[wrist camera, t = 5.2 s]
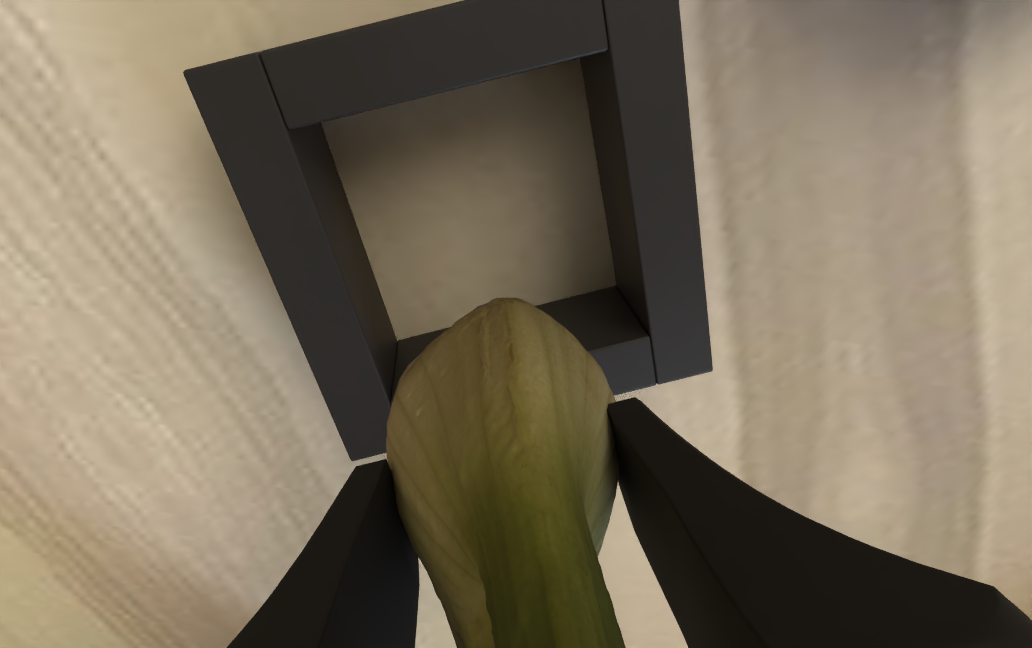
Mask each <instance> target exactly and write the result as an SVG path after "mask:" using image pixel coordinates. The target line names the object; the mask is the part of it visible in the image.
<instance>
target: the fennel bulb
mask: <svg viewBox="0 0 1032 648" xmlns="http://www.w3.org/2000/svg"><path fill="white" fill-rule="evenodd" d="M614 402H616V400H615V398H614V395H613V393H612V391H611V389H610V387H609V385H608V382H607V379H606V377H605V375H604V373H603V370H602V368H601V367H600V365H598V363H597V362H596V360H595V359H594V358H593V357H592V355H591V354H590V353H589V352H588V351H587V350H586V349H585V348H584V347H583V346H582V345H581V344H580V342H579V341H578V340H577V339H576V338H575V336H574V335H573V334H572V333H571V332H569V331H568V330H567V329H566V328H565V327H564V326H562V325H561V324H560V323H558V322H557V321H556V320H554V319H553V318H552V317H551V316H549V315H548V314H546V313H545V312H543V311H541V310H540V309H538V308H536V307H534V306H533V305H531V304H529V303H527V302H525V301H523V300H521V299H518V298H496V299H493V300H491V301H490V302H489V303H487V304H484V305H481V306H478V307H477V308H475V309H474V310H473V311H472V312H470V313H468V314H467V315H465V316H464V317H462V318H461V319H459V320H458V321H457V322H456V323H455V324H454V325H453V326H452V327H451V328H449V329H448V330H446V331H445V332H444V333H442V334H441V335H440V336H438V337H437V338H436V339H435V340H433V341H432V342H431V343H430V344H429V345H427V346H426V347H425V349H424V351H423V352H422V353H421V354H420V355H419V356H417V357H416V358H415V359H414V360H413V361H412V362H411V363H410V364H409V365H408V366H407V368H406V369H405V371H404V372H403V374H402V376H401V377H400V379H399V381H398V384H397V388H396V391H395V394H394V398H393V402H392V405H391V410H390V414H389V417H388V421H387V438H386V450H387V459H388V464H389V467H390V469H391V473H392V478H393V483H394V491H395V498H396V505H397V509H398V513H399V515H400V518H401V520H402V522H403V525H404V528H405V530H406V532H407V535H408V537H409V539H410V542H411V544H412V546H413V548H414V550H415V552H416V553H417V555H418V557H419V558H420V560H421V562H422V564H423V565H424V567H425V569H426V571H427V572H428V575H429V577H430V579H431V581H432V584H433V587H434V589H435V592H436V594H437V596H438V598H439V599H440V601H441V603H442V606H443V608H444V610H445V613H446V617H447V620H448V622H449V625H450V628H451V631H452V634H453V637H454V640H455V643H456V646H457V648H625V644H624V641H623V638H622V634H621V631H620V628H619V625H618V623H617V619H616V616H615V612H614V608H613V604H612V601H611V598H610V594H609V592H608V590H607V588H606V585H605V582H604V578H603V574H602V570H601V566H600V564H599V561H598V555H599V552H600V549H601V546H602V543H603V539H604V536H605V533H606V530H607V527H608V523H609V520H610V516H611V512H612V507H613V503H614V499H615V496H616V489H617V483H618V478H619V460H618V455H617V451H616V446H615V439H614V434H613V429H612V425H611V422H610V418H609V415H608V411H607V407H608V404H610V403H614Z"/></svg>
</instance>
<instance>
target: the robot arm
mask: <svg viewBox="0 0 1032 648" xmlns="http://www.w3.org/2000/svg"><path fill="white" fill-rule="evenodd" d="M607 411H608V415H609V418H610V422H611V425H612V429H613V434H614V439H615V446H616V451H617V455H618V460H619V478H618V482H619V486H620V489H621V492H622V495H623V498H624V501H625V504H626V507H627V510H628V513H629V516H630V519H631V522H632V525H633V528H634V531H635V533H636V535H637V537H638V539H639V542H640V544H641V546H642V548H643V550H644V552H645V554H646V557H647V559H648V561H649V563H650V565H651V567H652V569H653V572H654V574H655V576H656V578H657V580H658V582H659V584H660V586H661V589H662V591H663V593H664V595H665V597H666V599H667V601H668V603H669V606H670V608H671V610H672V612H673V614H674V616H675V618H676V620H677V623H678V625H679V627H680V629H681V631H682V633H683V636H684V638H685V640H686V643H687V645H688V648H1032V620H1031V619H1030V618H1029V617H1028V616H1027V615H1026V614H1025V613H1023V612H1022V611H1021V610H1020V609H1019V608H1018V607H1016V606H1015V605H1014V604H1013V603H1012V602H1011V601H1009V600H1008V599H1007V598H1006V597H1005V596H1004V595H1003V594H1002V593H1000V592H999V591H998V590H997V589H996V588H995V587H994V586H990V585H987V584H984V583H981V582H977V581H974V580H971V579H968V578H964V577H961V576H958V575H955V574H951V573H948V572H945V571H942V570H938V569H935V568H932V567H929V566H925V565H922V564H919V563H916V562H913V561H910V560H908V559H905V558H902V557H899V556H897V555H894V554H891V553H889V552H886V551H883V550H881V549H878V548H875V547H873V546H870V545H868V544H865V543H863V542H860V541H858V540H855V539H853V538H851V537H848V536H846V535H844V534H842V533H839V532H837V531H835V530H833V529H831V528H828V527H826V526H824V525H822V524H820V523H817V522H815V521H813V520H811V519H809V518H806V517H804V516H802V515H800V514H799V513H797V512H795V511H793V510H791V509H789V508H787V507H785V506H783V505H782V504H780V503H778V502H776V501H775V500H773V499H771V498H769V497H767V496H766V495H764V494H762V493H761V492H759V491H757V490H756V489H754V488H752V487H751V486H749V485H748V484H746V483H745V482H743V481H741V480H740V479H738V478H737V477H735V476H734V475H732V474H731V473H729V472H728V471H726V470H725V469H723V468H722V467H721V466H719V465H718V464H716V463H715V462H714V461H712V460H711V459H709V458H708V457H707V456H705V455H704V454H703V453H702V452H700V451H699V450H698V449H696V448H695V447H694V446H692V445H691V444H690V443H688V442H687V441H686V440H685V439H683V438H682V437H681V436H680V435H678V434H677V433H676V432H675V431H674V430H672V429H671V428H670V427H669V426H668V425H667V424H665V423H664V422H663V421H662V420H661V419H660V418H659V417H657V416H656V415H655V414H654V413H653V412H652V411H651V410H650V409H649V408H648V407H647V406H646V405H645V404H644V403H643V402H642V401H640V400H638V399H637V398H635V397H634V398H630V399H626V400H622V401H618V402H614V403H610V404H608V407H607ZM418 598H419V563H418V555H417V553H416V552H415V550H414V548H413V546H412V544H411V542H410V539H409V537H408V535H407V532H406V530H405V528H404V525H403V522H402V520H401V518H400V515H399V513H398V509H397V505H396V498H395V491H394V483H393V478H392V473H391V469H390V467H389V464H388V462H387V459H384V460H380V461H376V462H372V463H368V464H364V465H360V466H356V467H355V469H354V470H353V472H352V473H351V475H350V477H349V478H348V480H347V481H346V483H345V484H344V486H343V488H342V489H341V491H340V492H339V494H338V496H337V497H336V499H335V501H334V502H333V504H332V505H331V507H330V509H329V510H328V512H327V513H326V515H325V517H324V518H323V520H322V521H321V523H320V525H319V526H318V528H317V529H316V531H315V532H314V534H313V535H312V537H311V538H310V540H309V541H308V543H307V545H306V546H305V548H304V549H303V551H302V552H301V554H300V555H299V556H298V558H297V559H296V561H295V562H294V563H293V565H292V566H291V568H290V569H289V570H288V572H287V573H286V575H285V576H284V577H283V579H282V580H281V582H280V583H279V584H278V586H277V587H276V588H275V590H274V591H273V593H272V594H271V595H270V596H269V598H268V599H267V600H266V602H265V603H264V604H263V605H262V607H261V608H260V609H259V610H258V612H257V613H256V614H255V615H254V616H253V618H252V619H251V620H250V621H249V622H248V624H247V625H246V626H245V627H244V628H243V629H242V631H241V632H240V633H239V634H238V635H237V636H236V638H235V639H234V640H233V641H232V642H231V643H230V644H229V646H228V647H227V648H415V638H416V625H417V612H418Z"/></svg>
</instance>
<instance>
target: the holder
mask: <svg viewBox="0 0 1032 648" xmlns="http://www.w3.org/2000/svg"><path fill="white" fill-rule="evenodd" d="M577 58H580V60H581V66H582V72H583V79H584V85H585V91H586V97H587V103H588V109H589V116H590V122H591V128H592V134H593V140H594V147H595V153H596V159H597V165H598V171H599V177H600V184H601V190H602V196H603V202H604V208H605V214H606V221H607V227H608V233H609V239H610V245H611V251H612V258H613V264H614V270H615V276H616V282H617V287H616V286H614V287H610V288H606V289H602V290H598V291H594V292H590V293H586V294H582V295H578V296H574V297H570V298H566V299H562V300H558V301H554V302H550V303H546V304H542V305H538V306H534V307H536V308H538V309H540V310H541V311H543V312H545V313H546V314H548V315H549V316H551V317H552V318H553V319H554V320H556V321H557V322H558V323H560V324H561V325H562V326H564V327H565V328H566V329H567V330H568V331H569V332H571V333H572V334H573V335H574V336H575V338H576V339H577V340H578V341H579V342H580V344H581V345H582V346H583V347H584V348H585V349H586V350H587V351H588V352H589V353H590V354H591V355H592V357H593V358H594V359H595V360H596V362H597V363H598V365H600V367H601V368H602V370H603V373H604V375H605V377H606V379H607V382H608V385H609V387H610V389H611V391H612V393H613V395H618V394H622V393H626V392H630V391H634V390H638V389H642V388H646V387H650V386H654V385H656V383H657V384H663V383H667V382H671V381H675V380H679V379H683V378H687V377H691V376H695V375H699V374H703V373H707V372H711V371H712V370H713V367H712V356H711V346H710V335H709V324H708V313H707V302H706V291H705V281H704V270H703V259H702V248H701V237H700V226H699V216H698V205H697V194H696V183H695V172H694V161H693V151H692V140H691V129H690V118H689V107H688V96H687V85H686V75H685V64H684V53H683V42H682V31H681V20H680V10H679V0H464V1H460V2H456V3H452V4H448V5H444V6H440V7H436V8H432V9H428V10H424V11H420V12H416V13H412V14H408V15H404V16H400V17H396V18H392V19H388V20H384V21H380V22H376V23H372V24H368V25H364V26H360V27H356V28H352V29H348V30H344V31H340V32H336V33H332V34H328V35H324V36H320V37H315V38H311V39H307V40H303V41H299V42H295V43H291V44H287V45H283V46H279V47H275V48H271V49H267V50H263V51H261V52H256V53H251V54H247V55H243V56H239V57H235V58H231V59H227V60H223V61H219V62H215V63H211V64H207V65H203V66H199V67H195V68H191V69H187V70H185V71H184V72H183V73H184V77H185V79H186V81H187V84H188V86H189V88H190V90H191V93H192V95H193V97H194V100H195V102H196V104H197V107H198V109H199V111H200V114H201V116H202V118H203V120H204V123H205V125H206V127H207V130H208V132H209V134H210V137H211V139H212V141H213V143H214V146H215V148H216V150H217V153H218V155H219V157H220V160H221V162H222V164H223V167H224V169H225V171H226V173H227V176H228V178H229V180H230V183H231V185H232V187H233V190H234V192H235V194H236V197H237V199H238V201H239V203H240V206H241V208H242V210H243V213H244V215H245V217H246V220H247V222H248V224H249V227H250V229H251V231H252V233H253V236H254V238H255V240H256V243H257V245H258V247H259V250H260V252H261V254H262V257H263V259H264V261H265V263H266V266H267V268H268V270H269V273H270V275H271V277H272V280H273V282H274V284H275V286H276V289H277V291H278V293H279V296H280V298H281V300H282V303H283V305H284V307H285V310H286V312H287V314H288V316H289V319H290V321H291V323H292V326H293V328H294V330H295V333H296V335H297V337H298V340H299V342H300V344H301V346H302V349H303V351H304V353H305V356H306V358H307V360H308V363H309V365H310V367H311V370H312V372H313V374H314V376H315V379H316V381H317V383H318V386H319V388H320V390H321V393H322V395H323V397H324V400H325V402H326V404H327V406H328V409H329V411H330V413H331V416H332V418H333V420H334V423H335V425H336V427H337V429H338V432H339V434H340V436H341V439H342V441H343V443H344V446H345V448H346V450H347V453H348V455H349V457H350V459H351V461H355V460H359V459H363V458H367V457H371V456H375V455H379V454H383V453H387V450H386V438H387V421H388V417H389V414H390V410H391V405H392V402H393V398H394V394H395V391H396V388H397V384H398V381H399V379H400V377H401V376H402V374H403V372H404V371H405V369H406V368H407V366H408V365H409V364H410V363H411V362H412V361H413V360H414V359H415V358H416V357H417V356H419V355H420V354H421V353H422V352H423V351H424V349H425V347H426V346H427V345H429V344H430V343H431V342H432V341H433V340H435V339H436V338H437V337H438V336H440V335H441V334H442V333H444V332H445V331H446V330H448V329H449V328H446V329H442V330H438V331H434V332H430V333H426V334H422V335H418V336H414V337H410V338H406V339H402V340H399V341H398V342H397V339H396V336H395V334H394V331H393V328H392V325H391V322H390V319H389V317H388V314H387V311H386V308H385V305H384V302H383V299H382V297H381V294H380V291H379V288H378V285H377V282H376V280H375V277H374V274H373V271H372V268H371V265H370V263H369V260H368V257H367V254H366V251H365V248H364V246H363V243H362V240H361V237H360V234H359V231H358V228H357V226H356V223H355V220H354V217H353V214H352V211H351V209H350V206H349V203H348V200H347V197H346V194H345V192H344V189H343V186H342V183H341V180H340V177H339V175H338V172H337V169H336V166H335V163H334V160H333V158H332V155H331V152H330V149H329V146H328V143H327V140H326V138H325V135H324V132H323V129H322V126H321V122H325V121H329V120H333V119H337V118H341V117H345V116H349V115H353V114H357V113H361V112H365V111H369V110H373V109H377V108H381V107H385V106H389V105H393V104H397V103H401V102H405V101H409V100H413V99H417V98H421V97H425V96H429V95H433V94H437V93H441V92H445V91H449V90H453V89H457V88H461V87H465V86H469V85H473V84H477V83H481V82H485V81H489V80H493V79H497V78H501V77H505V76H509V75H513V74H517V73H521V72H525V71H529V70H533V69H537V68H541V67H545V66H549V65H553V64H557V63H561V62H565V61H569V60H573V59H577ZM450 328H451V327H450Z"/></svg>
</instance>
